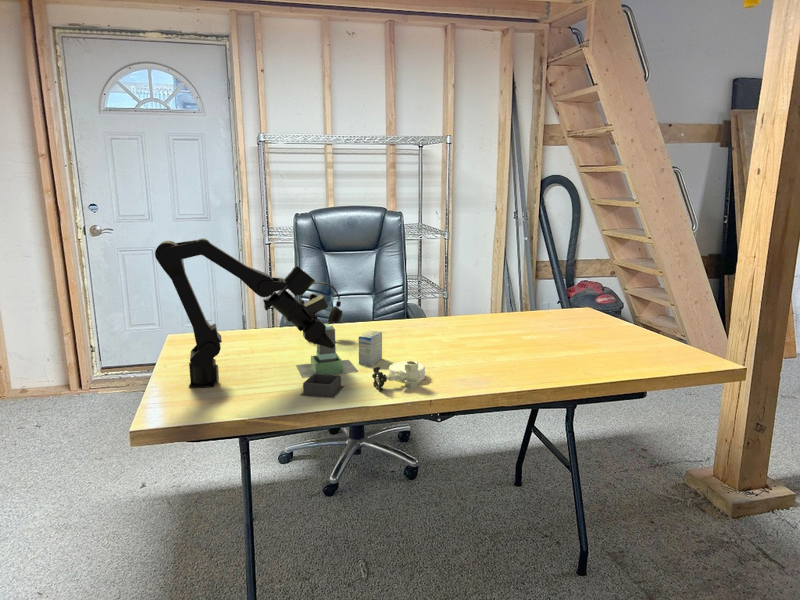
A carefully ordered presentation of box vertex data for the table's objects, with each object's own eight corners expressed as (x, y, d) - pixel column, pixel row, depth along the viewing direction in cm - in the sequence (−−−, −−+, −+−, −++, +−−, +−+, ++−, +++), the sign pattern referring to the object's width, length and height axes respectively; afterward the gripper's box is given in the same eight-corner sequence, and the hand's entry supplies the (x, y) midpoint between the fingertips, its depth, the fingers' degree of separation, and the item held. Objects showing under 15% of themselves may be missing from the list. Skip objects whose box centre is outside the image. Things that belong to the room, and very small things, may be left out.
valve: (414, 381, 154) (372, 387, 149) (414, 358, 152) (371, 363, 148) (423, 389, 148) (380, 395, 143) (423, 365, 146) (380, 371, 142)
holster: (299, 397, 142) (299, 384, 141) (312, 385, 150) (312, 372, 150) (333, 400, 140) (333, 386, 139) (344, 387, 148) (344, 374, 148)
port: (302, 380, 155) (301, 367, 154) (295, 367, 166) (295, 355, 165) (358, 373, 160) (358, 361, 159) (348, 361, 171) (348, 350, 170)
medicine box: (369, 357, 175) (369, 330, 174) (382, 358, 174) (382, 331, 172) (358, 364, 168) (357, 336, 167) (372, 366, 167) (371, 337, 165)
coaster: (432, 378, 156) (432, 366, 156) (406, 387, 150) (406, 374, 149) (407, 370, 164) (407, 358, 163) (381, 378, 157) (381, 366, 156)
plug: (320, 371, 160) (318, 328, 157) (316, 366, 164) (315, 324, 162) (336, 369, 161) (335, 326, 159) (333, 365, 166) (332, 323, 163)
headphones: (293, 343, 190) (290, 285, 186) (303, 335, 201) (301, 280, 197) (336, 345, 188) (334, 286, 184) (344, 336, 199) (343, 281, 195)
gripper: (316, 292, 148) (357, 329, 154) (304, 281, 165) (342, 315, 171) (287, 323, 147) (329, 360, 153) (278, 309, 164) (317, 342, 170)
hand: (330, 343), depth 162 cm, fingers open, 9 cm apart
